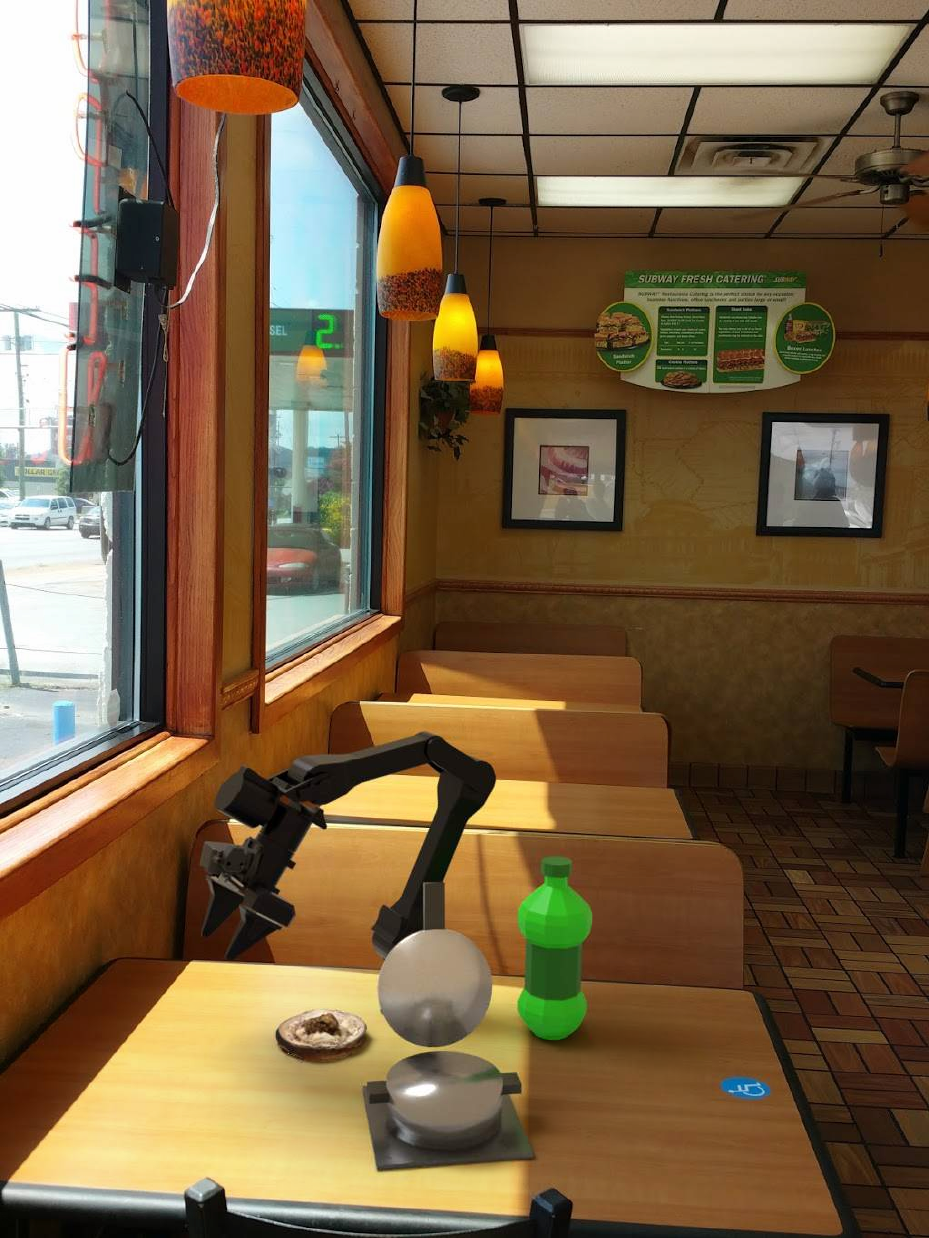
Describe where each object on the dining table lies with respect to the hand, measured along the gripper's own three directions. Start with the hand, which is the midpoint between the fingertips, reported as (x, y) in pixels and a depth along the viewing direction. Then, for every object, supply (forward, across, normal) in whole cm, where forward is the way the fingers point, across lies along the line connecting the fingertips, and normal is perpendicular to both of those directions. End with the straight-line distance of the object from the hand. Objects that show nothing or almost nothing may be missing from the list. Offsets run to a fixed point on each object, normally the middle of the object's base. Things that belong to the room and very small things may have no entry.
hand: (215, 947), depth 152 cm
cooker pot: (+3, +29, +24) cm, 38 cm away
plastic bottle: (-11, +16, +45) cm, 49 cm away
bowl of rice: (+5, +2, +21) cm, 22 cm away
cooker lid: (-13, +21, +17) cm, 30 cm away
